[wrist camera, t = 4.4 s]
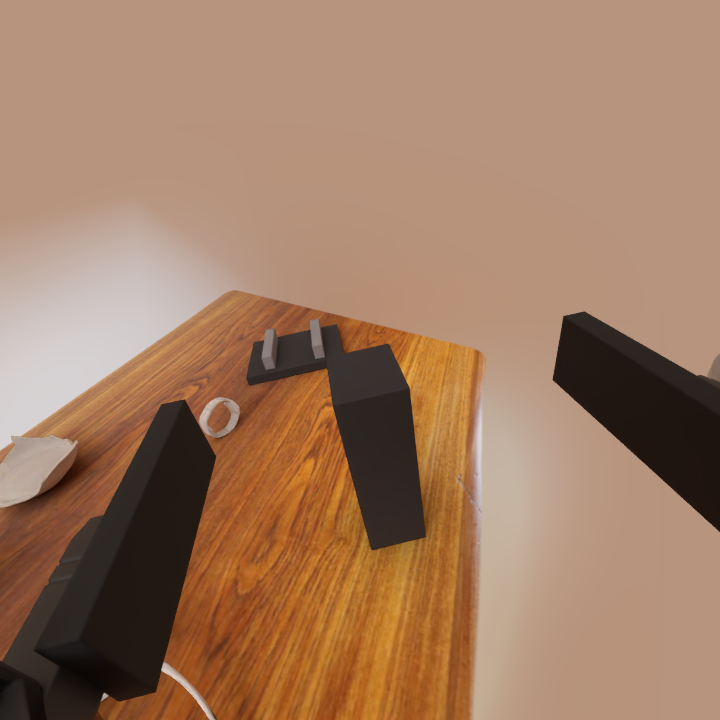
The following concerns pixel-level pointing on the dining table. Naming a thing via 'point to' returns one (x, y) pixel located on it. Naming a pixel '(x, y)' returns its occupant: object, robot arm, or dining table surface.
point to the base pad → (293, 353)
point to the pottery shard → (34, 467)
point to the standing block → (379, 442)
